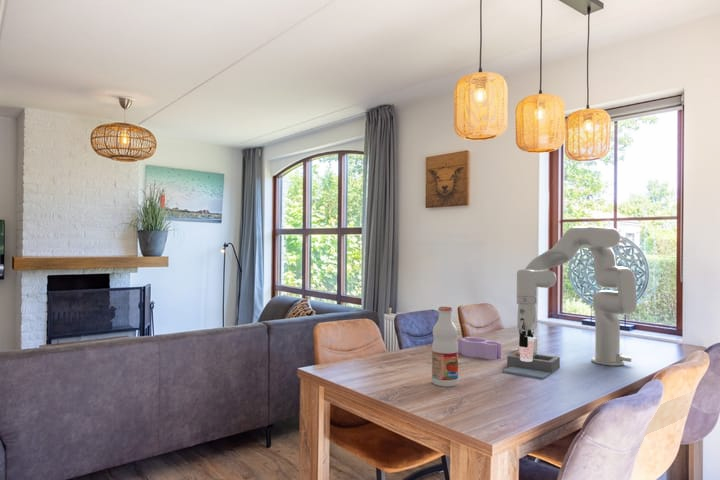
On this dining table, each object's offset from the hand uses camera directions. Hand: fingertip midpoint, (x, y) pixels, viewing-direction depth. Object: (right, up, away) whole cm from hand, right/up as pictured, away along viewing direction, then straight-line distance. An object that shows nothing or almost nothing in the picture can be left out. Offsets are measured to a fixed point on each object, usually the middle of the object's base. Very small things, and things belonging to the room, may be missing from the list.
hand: (526, 345), depth 187 cm
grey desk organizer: (+7, -12, +10) cm, 17 cm away
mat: (0, -11, 0) cm, 11 cm away
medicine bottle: (+15, -12, +40) cm, 45 cm away
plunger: (+2, -11, +13) cm, 17 cm away
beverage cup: (0, -6, 0) cm, 6 cm away
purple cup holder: (-10, -12, +32) cm, 36 cm away
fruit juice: (-35, -11, -15) cm, 40 cm away
